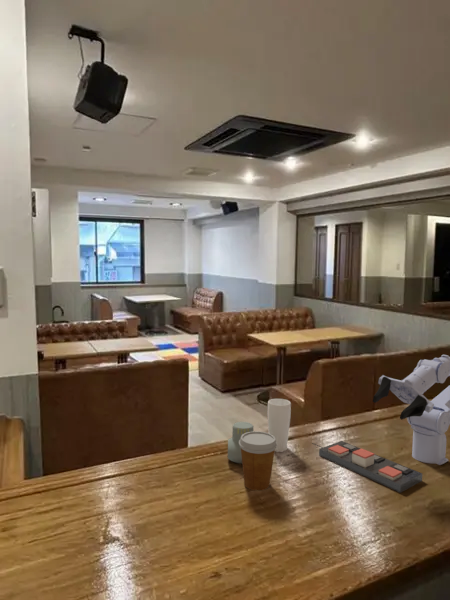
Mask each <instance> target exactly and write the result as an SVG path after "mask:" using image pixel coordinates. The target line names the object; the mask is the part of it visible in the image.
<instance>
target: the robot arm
mask: <svg viewBox="0 0 450 600" xmlns="http://www.w3.org/2000/svg"><path fill="white" fill-rule="evenodd" d="M448 377H450V356H449V355H447V354H442V355H441V356H440V357H434V358H433V359H425V358H424V359H420V360H419V361H418V362H417V364H416V367H415V368H414V369H413V371H412V372H411V373H410V374H409V375H407V376H406V377H404V378H403V379H401V380H400V379H396V378H392V377H389V376H386V375H384V374H382V375H381V376H380V377H378V380H377V381H378V382H377V384H378V385H379V388H378V389H377V391H376V393H375V394H374V395H373V397H372V403H374V404H376V403H377V402H379V401H380V400H381V399H383V398H386V397H388V396H389V392H391V393H392V394H393V395H395V396H396V397H397V399H399V400H400V401H401V402H403V403H404V404H408V405H407V407H405V408H404V409H403V410H402V411H401V413H400V416H399V420H402V421H403V420H405V419H407V422H408V424H409V425H410V429H412V431H413V433H412V449H411V451H412V452H411V453H412V454H411V457H412V458H413V459H415V460H417V461H418V462H421V463H424V464H437V465H438V466H441V465H443V464H445V463H447V462H449V459H448V458H446V454H447V453H446V451H447V436H446V434H445V433H446V432H447V431H448V430H449V428H450V385H448V386H447V387H446V388H445V389H443V390H442V391H441V392H440V393H439V394H438V395H437V396H435V397H433V399H432V400H429V399H428V398H427V397H426V396H425V395H424V393H426V392H427V390H429V389H430V388H431V387H432V386H433V385H435V384H436V383H437V384H439V383H440V384H444V383H445V382H446V380H447V378H448Z"/></svg>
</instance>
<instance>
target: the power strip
mask: <svg viewBox="0 0 450 600" xmlns="http://www.w3.org/2000/svg"><path fill="white" fill-rule="evenodd" d="M311 444H312V445H314V446H317V447H318V448H319V451H318V456H320V457H322V458H324V459H326V460H327V461H330V462H331V463H335V464H337V465H339V466H341V467H343V468H345V469H347V470H350V471H352V472H354V473H356V474H359V475H360V476H362V477H365V478H367V479H370V480H371V481H373V482H375V483H378V484H380V485H382V486H384V487H387V488H388V489H391V490H393V491H396V492H397V493H399V494H400V493H403V492H404V491H407V490H409V489H410V488H411V487H414V486H415V485H417V484H419V483H421V482H423V473H422V472H419V471H417V470H415V469H412V468H410V467H407V466H405V465H402V464H399V463H397V462H395V461H393V460H390V459H387V458H385V457H383V456H380V455H377V454H376V453H374V464H372V465H370V466H368V467H366V468H364V467H362V466H360V465H357V464H355V463H353V462H352V452H354V451H356V450H359V449H361V448H362V447H361V448H360V447H358V446H355V445H354V444H351V443H348V442H345V441H344V440H340V441H337V442H335V443H331V444H329V445H326V446H320V445H318V444H316V443H314V442H311ZM336 445H339V446H341V447H344V448H346V449H349V454H346V455H344V456H341V457H338V456H335V455H333V454H331V453H329V452H328V448H330V447H333V446H336ZM386 466H389V467H392V468H394V469H396V470H399V471H401V472H402V477H400V478H398V479H396V480H394V481H392V480H390V479H387V478H385V477H383V476H381V475H378V473H379V470H380V469H382V468H384V467H386Z"/></svg>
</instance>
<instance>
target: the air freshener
mask: <svg viewBox="0 0 450 600" xmlns="http://www.w3.org/2000/svg"><path fill="white" fill-rule="evenodd" d="M253 431H254V425H253V424H252V423H251V422H248V421H237V422H235V423H234V424H232V432H231V433H232V437H230V438H228V439H227V459H228V460H229V461H231V462H234V463H236V464H240V465H242V456H241V448H240V445H239V440H240V438H241V436H242V434H244V433H247V432H253Z"/></svg>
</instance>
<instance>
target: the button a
mask: <svg viewBox="0 0 450 600" xmlns="http://www.w3.org/2000/svg"><path fill="white" fill-rule="evenodd" d="M328 452H329V453H331V454H333V455H335V456H338V457H341V456H344V455H346V454H349V449H346V448H344V447H341V446H339V445H336V446H333V447H330V448H328Z"/></svg>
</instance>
